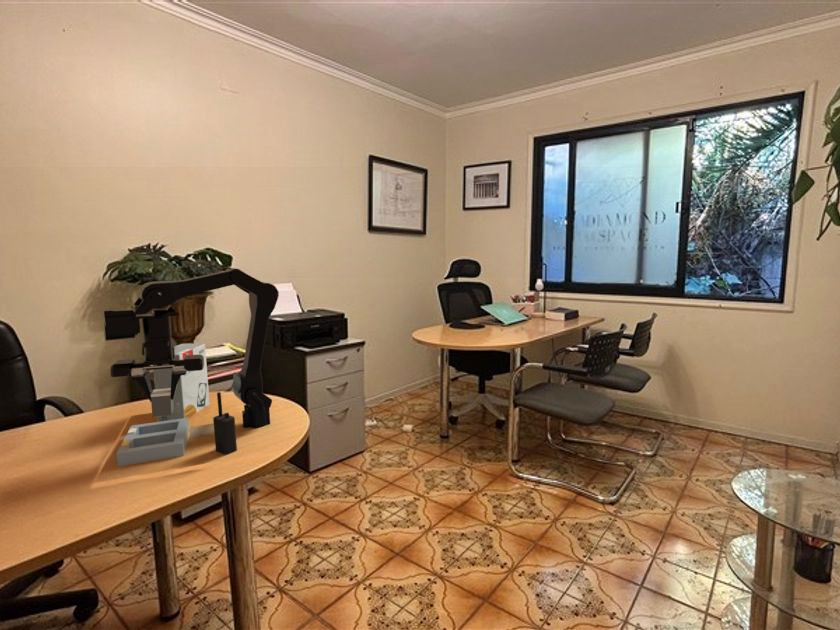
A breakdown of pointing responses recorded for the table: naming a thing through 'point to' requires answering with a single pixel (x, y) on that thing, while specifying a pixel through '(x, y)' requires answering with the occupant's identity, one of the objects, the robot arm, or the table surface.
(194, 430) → the brown flat square plate
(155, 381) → the hard drive box
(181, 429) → the dock
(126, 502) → the table surface
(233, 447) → the walkie-talkie
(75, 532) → the table surface
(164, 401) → the plug
